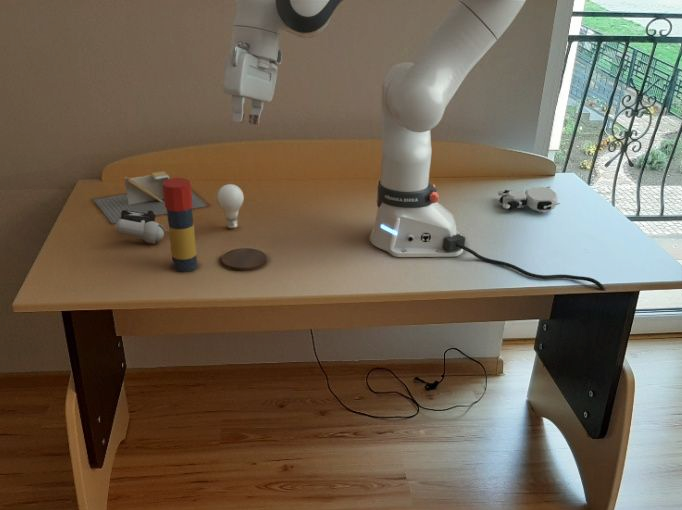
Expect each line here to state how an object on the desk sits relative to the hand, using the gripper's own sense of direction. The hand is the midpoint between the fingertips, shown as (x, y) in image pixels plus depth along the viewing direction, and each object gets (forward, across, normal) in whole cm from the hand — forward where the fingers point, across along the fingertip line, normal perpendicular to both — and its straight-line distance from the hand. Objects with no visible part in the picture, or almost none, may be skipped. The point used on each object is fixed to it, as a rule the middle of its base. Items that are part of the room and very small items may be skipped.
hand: (245, 123), depth 135 cm
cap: (+18, +1, +13) cm, 23 cm away
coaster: (+29, +11, +1) cm, 31 cm away
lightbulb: (+25, +27, +10) cm, 38 cm away
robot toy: (+10, +59, -60) cm, 85 cm away
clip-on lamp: (+29, +18, +24) cm, 42 cm away
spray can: (+32, +5, +12) cm, 34 cm away
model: (+24, +36, +36) cm, 56 cm away
